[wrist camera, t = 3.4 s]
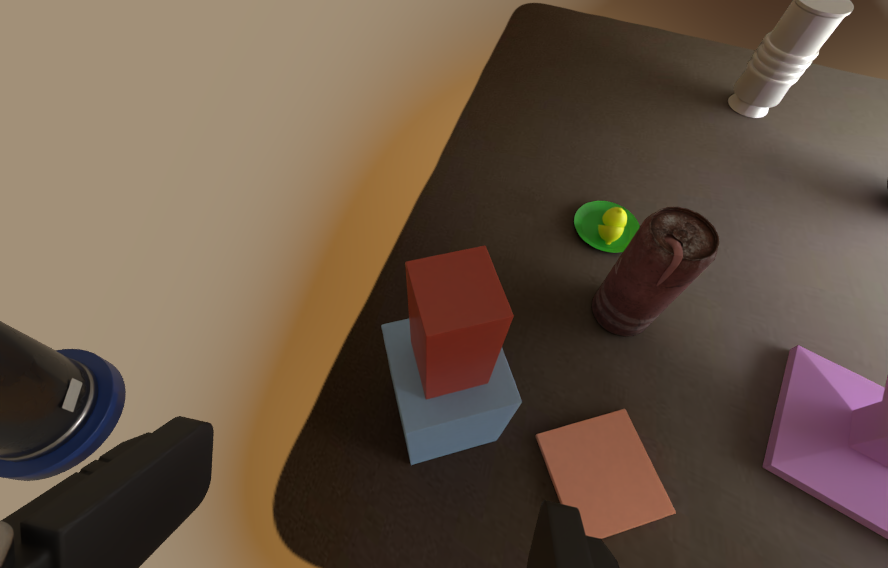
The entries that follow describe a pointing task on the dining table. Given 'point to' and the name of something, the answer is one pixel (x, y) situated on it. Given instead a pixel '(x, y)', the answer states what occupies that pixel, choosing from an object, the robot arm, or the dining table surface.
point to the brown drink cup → (655, 269)
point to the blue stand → (446, 403)
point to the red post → (456, 319)
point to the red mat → (604, 474)
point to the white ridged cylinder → (786, 54)
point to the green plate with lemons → (606, 225)
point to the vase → (832, 438)
